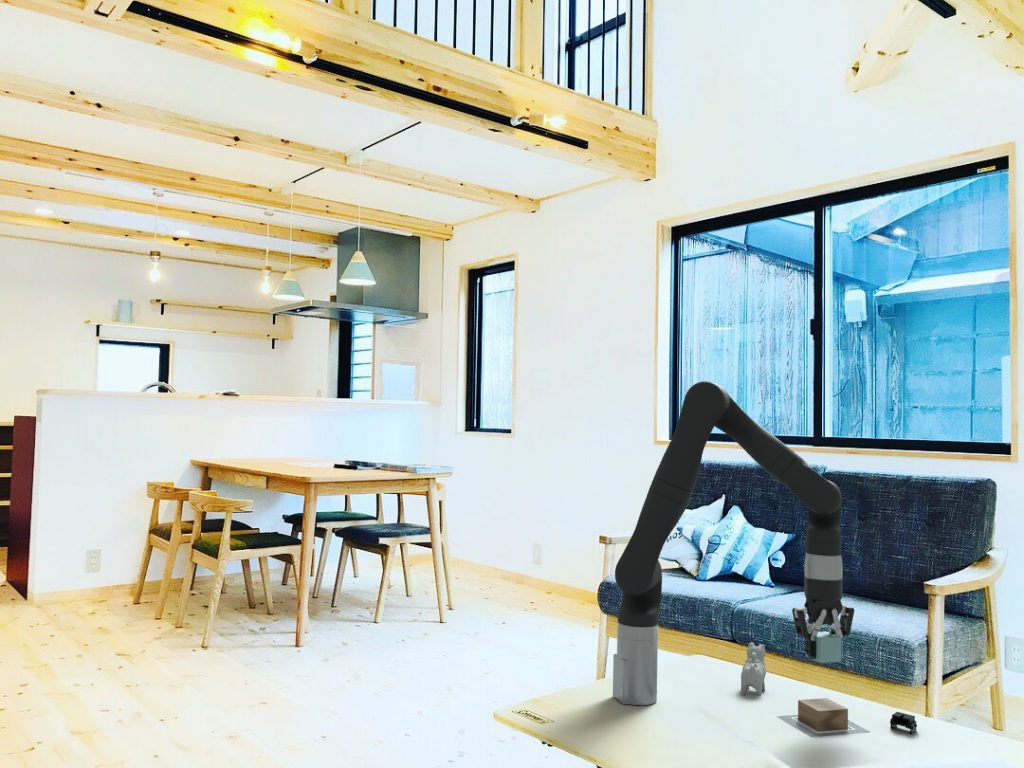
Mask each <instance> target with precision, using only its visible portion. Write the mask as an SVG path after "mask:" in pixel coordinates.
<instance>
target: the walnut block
mask: <svg viewBox="0 0 1024 768" xmlns="http://www.w3.org/2000/svg"><path fill="white" fill-rule="evenodd" d="M797 715H798V720H800V721H802V722H804V723H805V724H807V725H809V726H811V727H812V728H814V729H816V730H817V731H826V730H838V729H848V720H849V708H847V707H845V706H844V705H841V704H839V703H837V702H835V701H833V700H831V699H830V698H828V697H824V698H808V699H798V700H797Z"/></svg>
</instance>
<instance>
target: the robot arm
mask: <svg viewBox="0 0 1024 768" xmlns="http://www.w3.org/2000/svg"><path fill="white" fill-rule="evenodd" d="M714 428H716V429H718V430H720V431H721V432H723V433H724V434H725V435H727V436H728V437H729V438H731V439H732V440H733V441H734V442H736V443H737V444H738V445H739V447H741V448H742V449H743V450H744V451H745V452H746V453H747V454H748V455H749V457H751V459H752V460H754V461H755V463H757V465H759V467H761V468H762V469H763V470H764V471H765V472H767V473H768V474H769V475H770V476H772V477H773V478H774V479H775V480H777V482H779V483H780V484H782V485H783V486H785V487H786V488H787V489H788V490H790V492H792V494H793V495H794V496H795V497H796V498H797V499H798V500H799V501H800V502H801V503H802V504H804V505H805V506H806V507H807V508H806V509H807V510H806V511H807V527H806V532H805V533H806V534H805V558H804V597H805V602H804V605H803V606H801V607H798V608H797V607H793V608H792V609H791V612H792V618H793V622H794V626H795V632H796V635H797V636H799V637H801V638H803V639H805V655H806V654H807V655H808V657H809V658H808V657H807V658H808V659H810V658H811V659H810V660H813V659H816V641H815V640H816V637H817V634H818V632H821V630H822V629H821V628H822V626H824V625H825V626H826V627H827V629H828V631H829V633H831V634H834V635H837V636H839V637H841V640H843V638H844V637H849V636H850V635H851V630H852V624H853V619H854V614H855V608H854V607H852V606H848V605H843V603H842V599H843V595H844V594H843V574H844V573H843V560H842V534H841V514H842V513H841V512H842V510H841V509H842V493H841V489H840V488H839V487H838V485H837V484H836V483H835V482H833V481H831V480H827V478H825V477H824V476H823V475H821V473H818V472H817V471H816V470H815V469H814V468H812V467H811V466H809V465H808V463H807V462H806V460H804V458H803V457H801V456H800V455H799V454H798V453H796V452H795V451H794V450H792V449H791V448H790V447H789V446H788V445H786V444H785V443H784V442H782V441H781V440H780V439H779V438H777V437H776V436H774V435H773V434H772V433H771V432H769V431H768V430H766V429H765V428H764V427H763V426H761V425H760V424H759V423H757V422H756V421H755V419H753V418H752V417H751V416H749V415H748V414H747V413H746V412H745V410H743V409H742V408H741V406H739V404H738V403H737V402H736V401H735V400H734V399H733V397H732V396H730V394H729V393H728V391H727V389H726V388H724V387H723V386H722V385H720V383H716V382H713V381H707V380H703V381H698V382H696V383H694V384H693V385H691V387H690V388H688V390H687V391H686V393H685V395H684V398H683V403H682V406H681V410H680V414H679V417H678V421H677V423H676V427H675V430H674V433H673V435H672V436H671V437H672V438H671V440H670V442H669V443H668V446H667V448H666V450H665V452H664V454H663V456H662V458H661V461H660V462H659V465H658V467H657V469H656V470H655V471H656V472H655V474H654V476H653V478H652V481H651V484H650V485H649V489H648V491H647V494H646V496H645V499H644V502H643V506H642V507H641V510H640V513H639V516H638V518H637V522H636V524H635V529H634V530H633V533H632V535H631V537H630V539H629V541H628V543H627V545H626V546H625V548H624V550H623V551H622V554H621V555H620V557H619V559H618V561H617V562H616V566H615V569H614V578H615V583H616V585H617V587H618V588H619V590H620V591H621V592H622V595H621V596H622V597H621V601H620V605H619V607H618V608H617V609H618V610H617V631H616V632H617V633H616V635H617V636H616V637H617V638H616V653H614V654H613V659H612V660H613V663H612V664H613V665H612V696H613V698H615V699H616V701H617V700H619V702H620V703H621V704H622V705H633V706H648V705H653V704H655V703H657V699H658V697H657V696H658V655H659V654H658V651H659V650H658V648H659V647H658V645H659V644H658V643H659V642H658V641H659V615H660V613H661V606H662V592H663V590H662V589H663V588H662V586H663V571H662V565H661V563H660V561H659V558H660V556H661V553H662V551H663V547H664V546H665V543H666V541H667V540H668V538H669V536H671V533H672V532H673V530H674V529H675V528H676V526H677V524H678V523H679V521H680V520H681V518H682V517H683V514H684V513H685V511H686V509H687V507H688V505H689V503H690V501H691V498H692V495H693V493H694V490H695V488H696V484H697V482H698V477H699V474H700V469H701V463H702V458H703V454H704V450H705V448H706V445H707V442H708V440H709V438H710V436H711V434H712V432H713V430H714ZM839 616H840V617H839Z"/></svg>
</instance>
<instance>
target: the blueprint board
mask: <svg viewBox="0 0 1024 768" xmlns="http://www.w3.org/2000/svg"><path fill="white" fill-rule="evenodd" d="M776 717H777V718H779V719H780V720H782V721H784V722H785V723H787V724H788V725H790V726H792V727H793V728H795V729H797V730H799V731H800V732H801V733H803V734H805V735H807V736H808V737H810V738H815V737H816V738H817V737H827V736H828V737H829V736H839V735H852V734H864V733H871V731H870V730H868V729H866V728H864V727H862V726H860V725H858V724H856V723H854V722H853V721H851V720H849V719H848V729H838V730H826V731H817V730H816V729H814V728H812V727H811V726H809V725H807V724H805V723H804V722H802V721H800V720H798V714H788V715H777V716H776Z"/></svg>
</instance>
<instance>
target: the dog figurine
mask: <svg viewBox="0 0 1024 768" xmlns="http://www.w3.org/2000/svg"><path fill="white" fill-rule="evenodd" d="M765 649H766V647H765V645H764V644H758V646H757V645H755V643H754V642H749V643H748V646H747V649H746V656H747V659H746V660H745V661H744V664H743V666H742V669H741V670H742V671H741V674H740V695H741V696H740V697H742V696H746V690H749V689H750V687H751V688H752V689H754V690H755V691H756V695H757V696H758V695H759V696H762V694H763V692H765V691H766V686H765V678H766V675H767V668H766V664H765V657H766V652H765V651H766V650H765ZM762 690H763V691H762Z"/></svg>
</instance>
